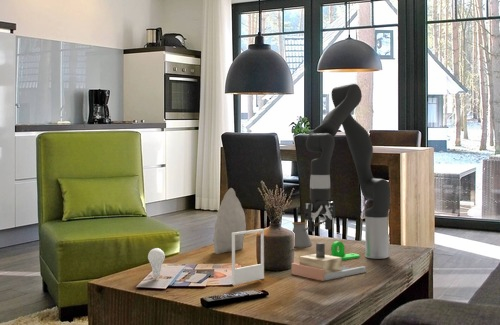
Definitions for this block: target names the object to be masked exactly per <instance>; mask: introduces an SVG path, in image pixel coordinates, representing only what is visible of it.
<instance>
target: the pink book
mask: <svg viewBox="0 0 500 325" xmlns="http://www.w3.org/2000/svg"><path fill="white" fill-rule="evenodd" d="M364 273H367V266H363V265H361V266H357V267H348V266H344V265H342V270H341V271H336V272H331V273H326V274H325V269H321V268H316V267H311V266H307V265H302V264H300V263H297V262H291V275H294V276H295V275H296V276H299V277H304V278H309V279H311V280H312V279H313V280H317V281H322V282H324V281H330V280H334V279H339V278H342V277H343V278H344V277H348V276H353V275H357V274H364Z"/></svg>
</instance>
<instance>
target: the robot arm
mask: <svg viewBox="0 0 500 325" xmlns="http://www.w3.org/2000/svg"><path fill="white" fill-rule="evenodd" d="M362 97H363V95H362V89H361V88H360V86H359V84H357V83H347V84H343V85H338V86H334V87H333V88H332V90H331V100H332V104H333V106H334V108H333V109H331V110H330V111H329V112H327V114H326V115H325V116H324V117H323V119H322V121H321V123H320V124H319V125H318V126H317V127H316V128H315V129H313V130H312V131H311V132H310V133H309V134H308V135H307V138H306V140H305V146H306V149H307V150H308V151H309V152H311V153H321V155H320V157H318V158H313V159H311V162H310V177H309V178H310V179H309V199H310V200H311V203H304V213H303V215H304V217H303V219H304V220H305V221H308V227H309V229H308V231H309V232H310V233H311V232H312V233H314V232H315V230H316V228H315V224H316V222H315V221H316V218H317V217H319V215H323V218H325V220H324V221H325V222H324V224H325V225H324V229H325V230H328V231H329V230H331V229H332V220H333V219H334V218H336V202H335V201H330V200H331V177H330V176H331V174H330V173H331V170H330V169H331V160H332V156H333V153H334V149H335V145H336V144H335V142H336V141H335V137H336V135H337V133H338V131H339V130H340V128H341V126H342V128H343V131H344V134H345V137H346V141H347V144H348V148H349V150H350V154H351V156H352V160H353V163H354V166H355V169H356V173H357V177H358V183H359V187H360V192H361V194H362V195H363V197H364V198H365V199H366V200H369V201H373V203H372V206H371V207H369V208H367V209H366V210H365V213H364V214H365V217H364V218H365V219H364V220H365V229H364V230H365V236H364V237H365V240H364V241H365V251H364V252H365V255H364V257H366V258H368V259H387V258H388V257H390V234H389V233H388V232H389V230H388V229H389V228H388V224H389V222H388V220H389V216H388V213H389V211H390V206H391V205H390V202H391V188H390V183H389V182H388V180H386V179H385V178H375V176H373V172H372V168H371V161H372V158H373V151H374V148H373V147H374V146H373V143H372V141H371V140H372V139H371V137H370V134H369V133H368V131H367V130H366V129H365V127H364V126H362V125H361V124H360V123H359V122H358V121H357V120H356V119H355V118H354V116H353V115H352V112H353V111H355V109H356V108H357V107H358V106H359V104H360V103H361V101H362Z"/></svg>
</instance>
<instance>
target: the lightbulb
mask: <svg viewBox="0 0 500 325" xmlns="http://www.w3.org/2000/svg"><path fill="white" fill-rule="evenodd" d="M165 258H166V254H165V252H164V250H162V249H161V248H159V247H155V248H152V249H151V250H149V252H148V255H147V259H148V262H149V264H150V267H151V270H152V277H153V278H155V277H156V278H155V279H158V278H160V277H161V271H162V265H163V263H164V261H165ZM157 277H158V278H157Z"/></svg>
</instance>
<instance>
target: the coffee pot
mask: <svg viewBox="0 0 500 325" xmlns="http://www.w3.org/2000/svg"><path fill="white" fill-rule="evenodd" d="M306 224H307V222H306V221H294V222H292V225H293V229H292V231H293V232H294V233H295V247H294V248H308V247H311V246H312V245H313V243H312V241H311V238H310V236H309V234H308V231H309V226H308V227H306ZM320 225H323V226H325V220H322V221H319V222H315V227H319V226H320Z"/></svg>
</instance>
